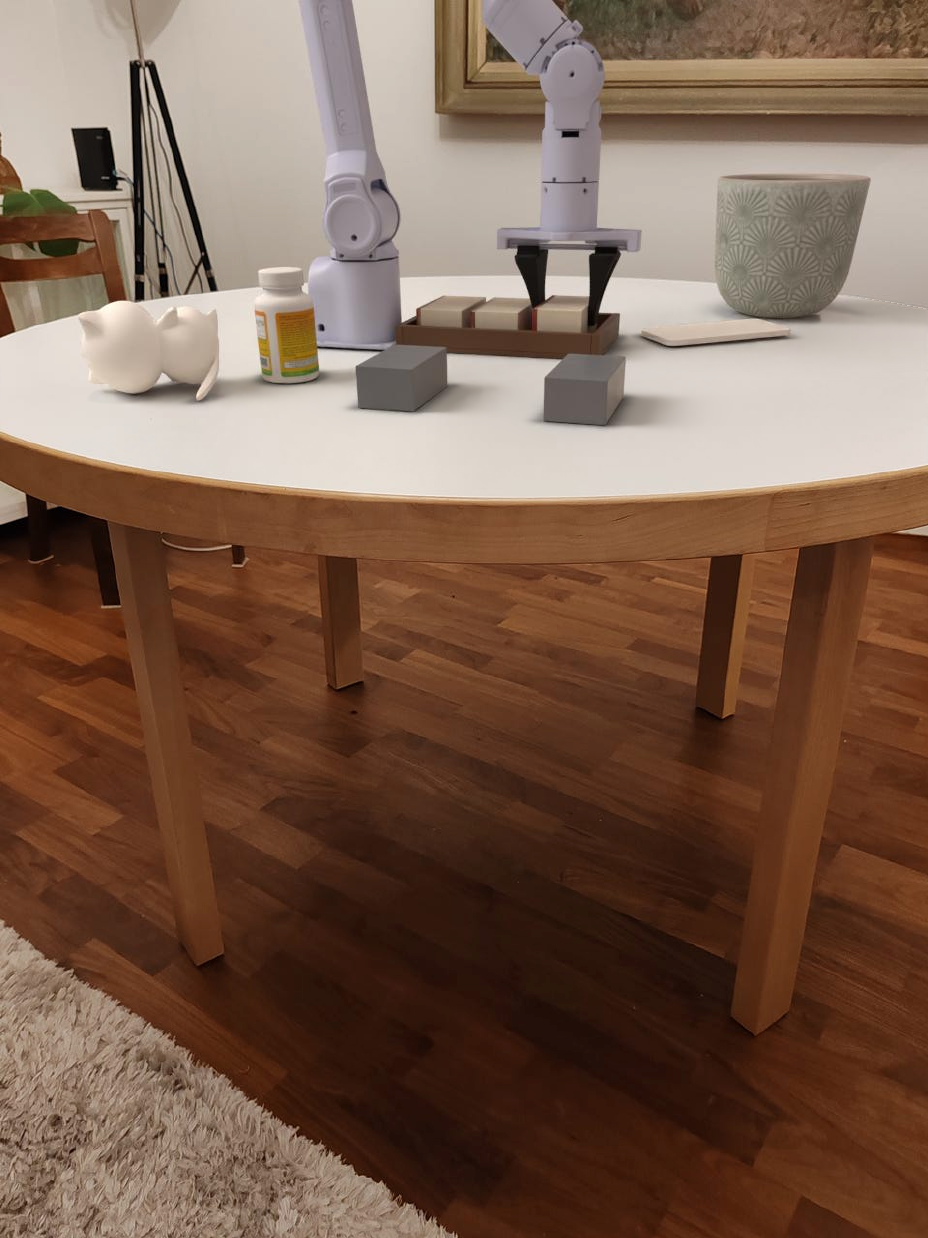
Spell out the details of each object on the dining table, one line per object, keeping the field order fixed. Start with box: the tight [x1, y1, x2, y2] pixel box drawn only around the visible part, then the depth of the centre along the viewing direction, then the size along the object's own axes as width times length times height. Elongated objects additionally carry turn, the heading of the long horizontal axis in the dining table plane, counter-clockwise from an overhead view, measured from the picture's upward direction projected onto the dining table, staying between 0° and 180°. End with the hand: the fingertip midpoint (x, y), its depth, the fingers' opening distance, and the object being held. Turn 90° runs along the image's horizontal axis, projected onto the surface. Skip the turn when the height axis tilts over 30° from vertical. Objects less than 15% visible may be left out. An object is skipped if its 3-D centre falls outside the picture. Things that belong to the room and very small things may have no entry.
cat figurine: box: [77, 300, 220, 401], centre depth 84 cm, size 9×11×12 cm
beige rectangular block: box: [532, 294, 597, 333], centre depth 100 cm, size 5×9×4 cm, turn 163°
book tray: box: [396, 312, 621, 360], centre depth 102 cm, size 22×13×2 cm, turn 73°
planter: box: [714, 173, 872, 319], centre depth 114 cm, size 17×17×15 cm
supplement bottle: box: [253, 266, 320, 384], centre depth 88 cm, size 5×5×10 cm
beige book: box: [415, 295, 487, 328], centre depth 104 cm, size 5×9×4 cm, turn 163°
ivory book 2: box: [470, 296, 533, 331], centre depth 102 cm, size 5×9×4 cm, turn 163°
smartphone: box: [640, 318, 791, 347], centre depth 104 cm, size 7×1×15 cm
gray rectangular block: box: [355, 345, 448, 413], centre depth 82 cm, size 5×9×4 cm, turn 163°
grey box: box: [542, 354, 627, 426], centre depth 78 cm, size 5×9×4 cm, turn 163°
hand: (565, 323), depth 100 cm, fingers closed on beige rectangular block, 5 cm apart
